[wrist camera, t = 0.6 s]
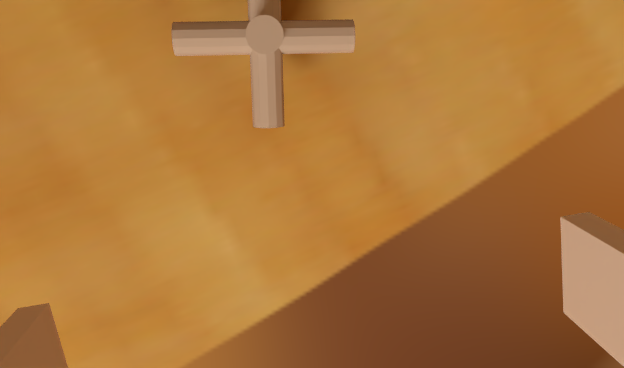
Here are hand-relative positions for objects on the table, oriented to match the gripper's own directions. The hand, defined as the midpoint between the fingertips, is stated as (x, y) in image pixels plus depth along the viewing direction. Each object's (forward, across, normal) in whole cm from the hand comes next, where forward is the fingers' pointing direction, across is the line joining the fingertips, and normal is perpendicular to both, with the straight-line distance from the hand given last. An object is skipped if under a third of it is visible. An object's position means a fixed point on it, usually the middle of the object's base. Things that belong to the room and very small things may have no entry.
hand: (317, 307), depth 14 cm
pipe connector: (+25, 0, +7) cm, 26 cm away
